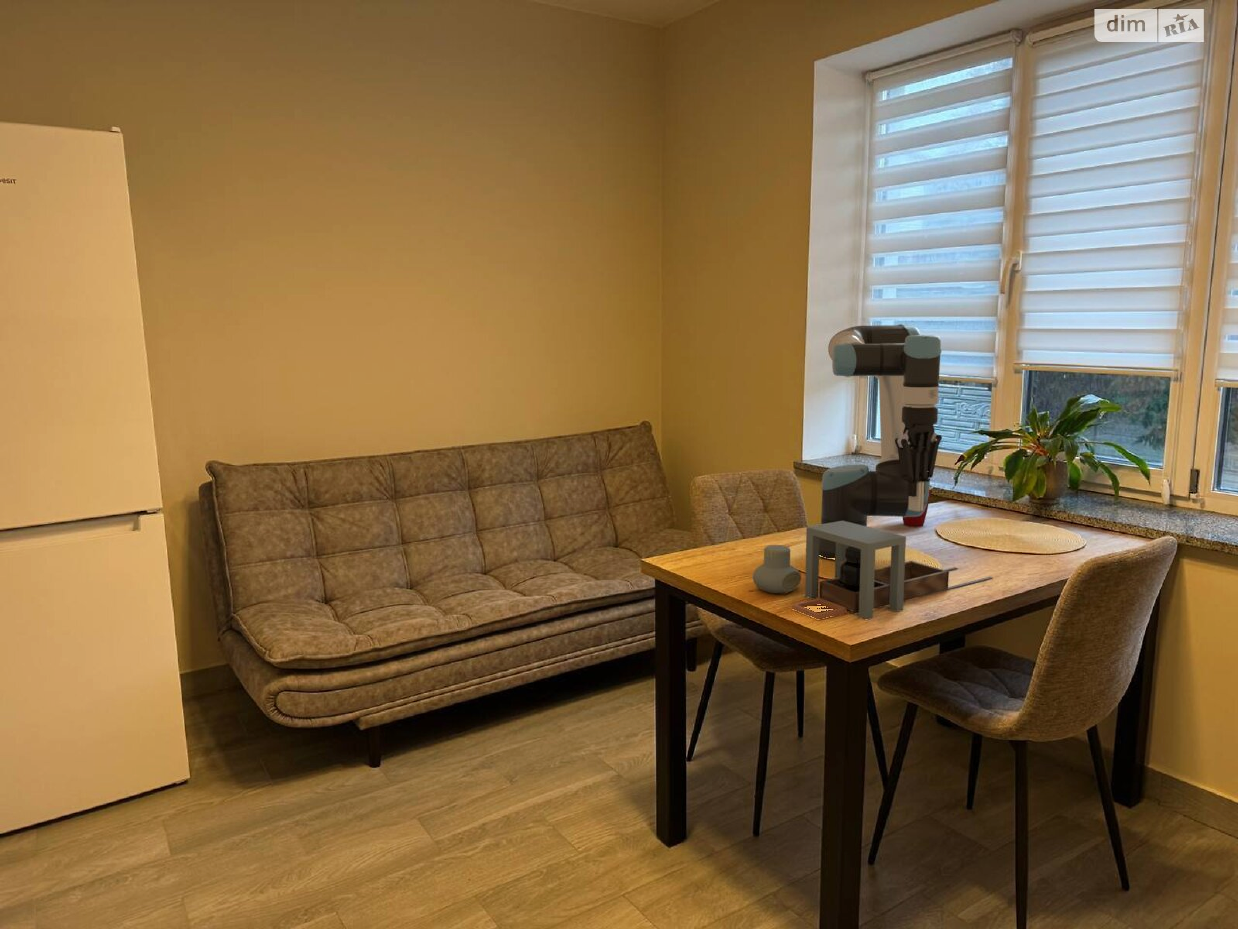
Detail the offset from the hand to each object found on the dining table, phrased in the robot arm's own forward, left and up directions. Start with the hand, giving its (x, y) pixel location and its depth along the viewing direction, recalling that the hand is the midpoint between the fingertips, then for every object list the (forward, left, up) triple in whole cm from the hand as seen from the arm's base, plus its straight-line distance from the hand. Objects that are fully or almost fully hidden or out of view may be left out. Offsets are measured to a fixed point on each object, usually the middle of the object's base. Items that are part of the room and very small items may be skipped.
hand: (915, 509), depth 196 cm
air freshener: (-16, -26, -19) cm, 36 cm away
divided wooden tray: (0, -9, -18) cm, 20 cm away
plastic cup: (-42, +50, -19) cm, 68 cm away
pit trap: (0, -29, -18) cm, 34 cm away
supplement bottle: (0, -18, -19) cm, 26 cm away
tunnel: (0, -2, -18) cm, 18 cm away
